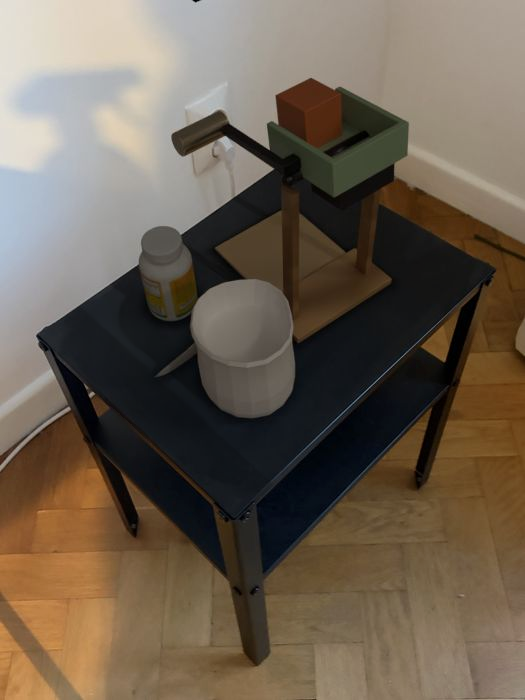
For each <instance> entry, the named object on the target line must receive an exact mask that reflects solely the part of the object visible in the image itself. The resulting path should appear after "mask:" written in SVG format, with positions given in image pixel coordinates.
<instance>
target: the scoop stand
mask: <svg viewBox="0 0 525 700" xmlns="http://www.w3.org/2000/svg"><path fill="white" fill-rule="evenodd" d="M381 189H382V188H381ZM381 189H379V190H378V191H376V192H374V193H373V194H371V195H369V196H367V197H366V198H364V199H362V200H361V207H360V208H361V209H360V218H359V219H360V220H359V227H358V236H357V237H358V238H357V248H356V247H354V248H352V249H350V250H349V251H347V252H346V254H344V255H342V256H341V257H339V258H337V259H336V260H334V261H333V262H331V263H329V264H328V265H326V266H324V267H323V268H321V269H319V270H318V271H316V272H315V273H313V274H311V275H310V276H308V277H306V278H305V279H303V280H301V281H300V282H299V213H300V192H299V191H298V190H296V188H295V187H293V186H285V185H282V186H281V187H280V192H281V193H280V194H281V195H280V196H281V197H280V201H281V210H282V251H283V292H282V293H283V294H284V296H285V297H286V299H287V300H288V303H289V307H290V310H291V314H292V320H293V334H292V340H294V341H295V342H296V343H297V344H299V343H302V342H303V341H304V340H306V339H308V338H310V337H311V336H312V335H314V334H315V333H317V332H318V331H320V330H322V329H323V328H324V327H326V326H327V325H329V324H331V323H333V322H334V321H335V320H337V319H338V318H340V317H341V316H343V315H345V314H347V313H348V312H349V311H350V310H352V309H354V308H355V307H357V306H358V305H361V304H362V303H364V302H365V301H366V300H369V298H371V297H372V296H374V295H376V294H377V293H379V292H380V291H381V290H383V289H385V288H386V287H388V286H390V285H391V284H392V279H393V278H392V277H390V276H389V275H388V274H387V273H385V271H383V270H382V269H381V268H380V267H378V266H377V264H375V263H374V262H372V261H373V255H374V245H375V238H376V231H377V220H378V214H379V213H378V212H379V207H380V198H381V197H380V196H381Z"/></svg>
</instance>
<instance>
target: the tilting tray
mask: <svg viewBox="0 0 525 700" xmlns="http://www.w3.org/2000/svg"><path fill="white" fill-rule="evenodd" d="M334 90H335V91H337V92H339V93H341V110H342V135H341V136H339V137H337V138H336V139H334V140H332V141H330V142H328V143H326V144H324V145H323V146H321V147H319V148H315V147H314V146H312V145H310V144H309V143H307V142H305V141H304V140H302V139H301V138H299V137H297V136H296V135H294V134H292V133H291V132H289V131H287V130H286V129H284V128H283V127H281V126H279V125H278V123H276V122H274V121H272V120H271V121H269V122H267V123H266V129H267V139H268V147H269V149H268V148H267V147H266V146H265V145H263V144H261V143H260V142H258V141H257V140H255V139H253V138H252V137H251V136H249V135H247V134H246V133H244V132H243V131H241V130H240V129H238V128H237V127H235V126H234V125H232V124H231V123H230V120H229V119H228V116H227V115H226V114H225V113H224V112H223V111H221V110H217V111H215V112H213V113H211V114H210V115H207V116H205V117H202V118H200V119H199V120H197V121H195V122H192V123H190V124H189V125H187V126H184V127H182V128H180V129H178V130H176V131H174V132H172V133H171V135H170V136H171V137H170V138H171V142H172V145H173V148H174V149H175V151H176V153H177V154H178V155H179V156H180V157H182V158H183V157H186V156H189V155H190V154H192V153H194V152H196V151H198V150H201V149H202V148H205V147H206V146H208V145H210V144H212V143H214V142H216V141H218V140H220V139H222V138H225V137H226V138H228V139H229V140H230V141H232V142H234V143H235V144H237V145H238V146H239V147H241V148H242V149H244V150H245V151H247V152H248V153H249V154H251V155H253V156H254V157H256V158H257V159H258V160H260V161H262V162H263V163H265V164H266V165H267V166H269V167H270V168H272V169H274V170H275V171H276V172H277V173H278V174H279V175H281V178H280V181H281V183H282V186H291V187H293V185H296V184H298V183H299V182H301V181H303V180H304V179H305V180H307V181H308V182H309V183H311V192H312V193H314V194H316V195H317V196H318V197H320V198H321V199H323V200H324V201H325V202H327V203H329V204H330V205H331V206H333V207H334V208H336V209H338V210H339V211H340V212H343V211H345V210H347V209H349V208H350V207H352V206H354V205H356V204H357V203H358V202H359V203H360V201H361V202H362V199H364V198H366V197H367V196H369V195H371V194H373V193H374V192H376V191H378V190H379V189H383V188H385V187H387V186H388V185H390V184H392V183H393V182H394V181H395V164H396V163H398V162H399V161H401V160H403V159H404V158H406V157H408V154H409V153H408V152H409V151H408V150H409V130H410V122H409V121H408V120H405V119H403V118H401V117H399V116H397V115H396V114H393V113H391V112H390V111H388V110H386V109H384V108H383V107H381V106H379V105H377V104H374V103H372V102H370V101H369V100H368V99H365V98H363V97H361V96H359V95H357V94H355V93H353V92H351V90H348V89H346V88H345V87H342V86H338V87H336V88H334Z"/></svg>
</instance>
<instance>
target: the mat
mask: <svg viewBox="0 0 525 700" xmlns="http://www.w3.org/2000/svg"><path fill="white" fill-rule="evenodd" d="M214 250H215V252H216V253H218V255H219V256H220V257H221V258H222V259H224V260H225V262H227V264H229V265H230V266H231V267H232V268H233V269H234V270H235V271H236V272H237V273H238V274H239V275H240V276H241V277H242V278H243V280H248V279H257V280H261V281H265V282H269V283H270V284H272V285H273V286H275V287H276V288H278V289H279V290H281V291H282V292H283V251H282V209H281V210H278V211H277V212H276V213H274V214H272V215H270V216H269V217H268V216H267V218H265V219H263V220H261V221H260V222H257V223H256V224H254V225H252V226H251V227H248V228H247V229H245V230H243V231H242V232H240V233H237V234H236V235H235V236H233V237H231V238H230V239H229V238H228V240H226V241H224V242H222V243H220V244H219V245H216V246H215V247H214ZM346 253H347V252H346V251H345V250H344V249H342V247H341V246H339V245H338V244H336V242H334V240H332V239H331V238H329V236H327V235H326V234H325V233H324V232H322V230H320V229H319V228H318V227H317V226H316V225H315V224H313V223H312V222H311V221H310V220H309V219H307V217H305V216H304V215H303V214H301V213H300V212H299V282H300V281H301V280H303V279H305V278H306V277H308V276H310V275H311V274H313V273H315V272H316V271H318V270H319V269H321V268H323V267H324V266H326V265H328V264H329V263H331V262H333V261H334V260H336V259H337V258H339V257H341V256H342V255H344V254H346Z"/></svg>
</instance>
